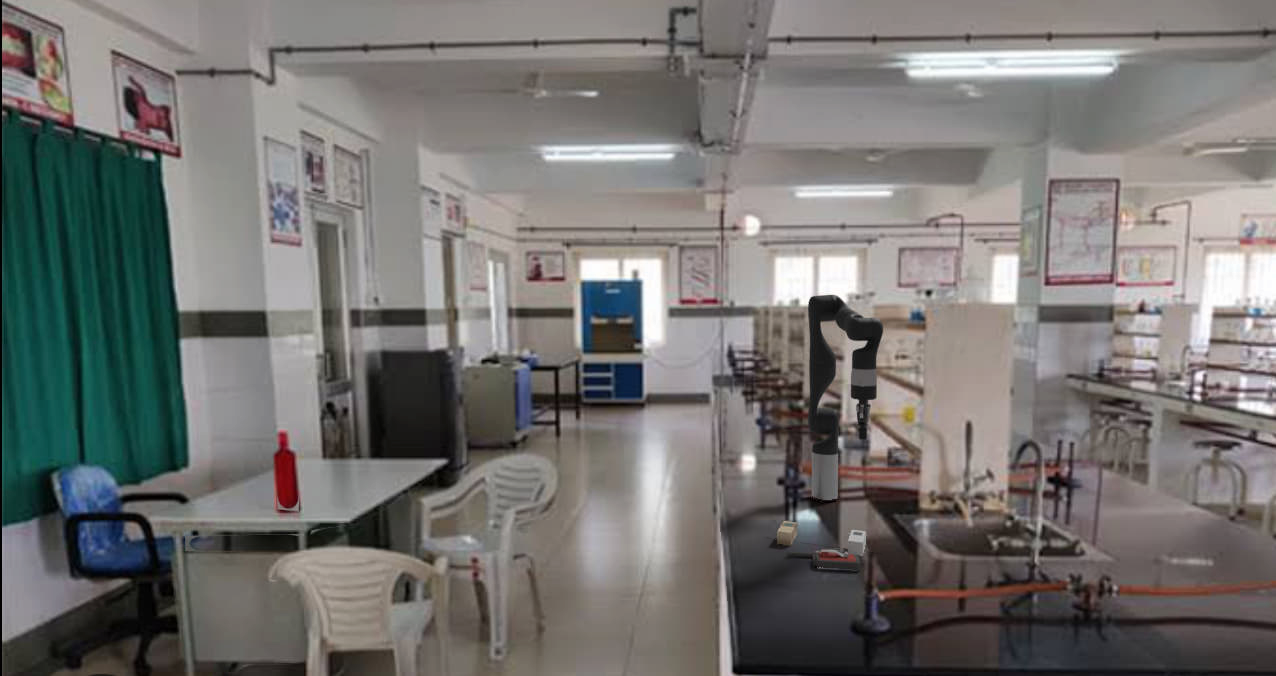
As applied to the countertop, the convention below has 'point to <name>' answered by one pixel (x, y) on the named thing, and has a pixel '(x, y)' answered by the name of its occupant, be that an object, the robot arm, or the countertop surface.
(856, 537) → the grey block
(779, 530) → the beech block
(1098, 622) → the countertop surface
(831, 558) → the walkie-talkie
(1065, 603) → the countertop surface
